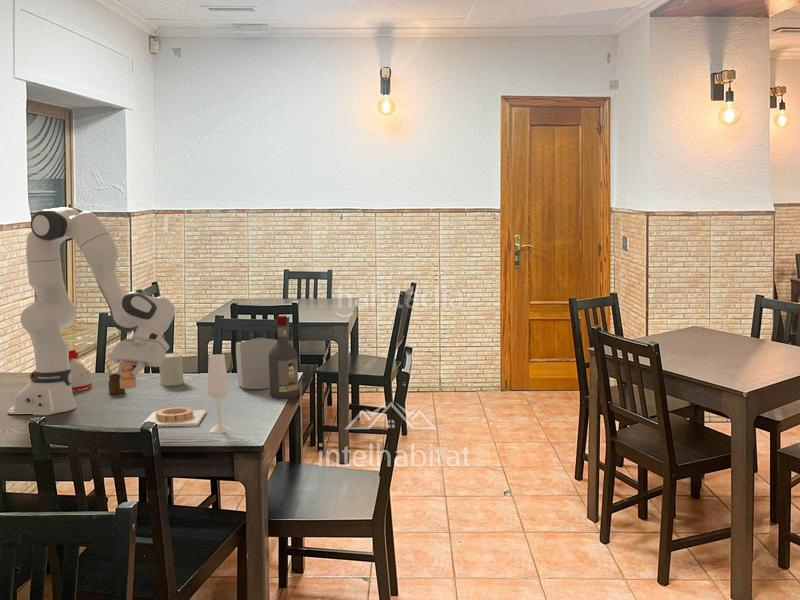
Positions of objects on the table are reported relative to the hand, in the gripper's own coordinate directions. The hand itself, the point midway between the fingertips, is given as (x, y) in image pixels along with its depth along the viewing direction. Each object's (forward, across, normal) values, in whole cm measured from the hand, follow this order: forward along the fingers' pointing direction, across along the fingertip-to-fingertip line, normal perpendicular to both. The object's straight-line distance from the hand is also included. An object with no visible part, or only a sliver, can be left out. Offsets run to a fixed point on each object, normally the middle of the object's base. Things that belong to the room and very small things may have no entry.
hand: (126, 374), depth 293 cm
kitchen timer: (-12, -62, +36) cm, 73 cm away
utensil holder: (-12, -39, +36) cm, 54 cm away
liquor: (-26, +25, +50) cm, 61 cm away
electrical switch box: (-34, +4, +58) cm, 68 cm away
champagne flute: (+8, +34, +16) cm, 38 cm away
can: (-28, -31, +51) cm, 66 cm away
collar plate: (+5, +11, +18) cm, 22 cm away
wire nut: (+3, 0, +4) cm, 4 cm away
